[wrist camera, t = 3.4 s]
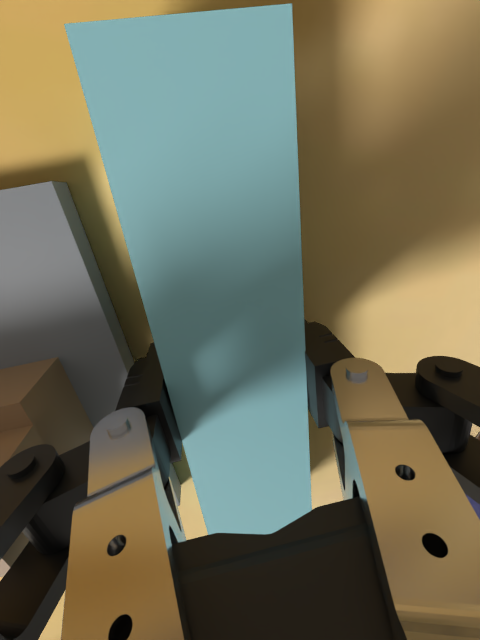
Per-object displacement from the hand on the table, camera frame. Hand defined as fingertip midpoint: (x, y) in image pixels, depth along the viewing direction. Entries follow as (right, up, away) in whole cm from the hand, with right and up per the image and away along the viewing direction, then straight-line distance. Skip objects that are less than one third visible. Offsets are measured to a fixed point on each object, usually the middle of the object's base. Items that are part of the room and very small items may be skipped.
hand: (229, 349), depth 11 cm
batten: (0, 0, +1) cm, 1 cm away
